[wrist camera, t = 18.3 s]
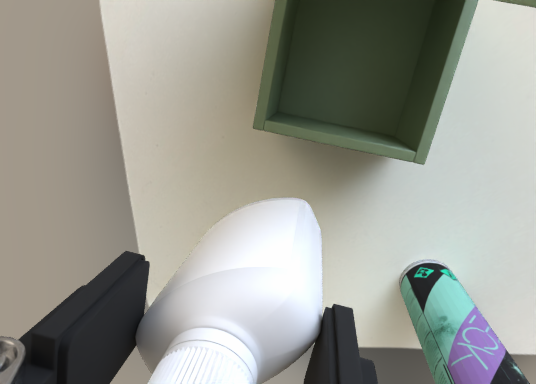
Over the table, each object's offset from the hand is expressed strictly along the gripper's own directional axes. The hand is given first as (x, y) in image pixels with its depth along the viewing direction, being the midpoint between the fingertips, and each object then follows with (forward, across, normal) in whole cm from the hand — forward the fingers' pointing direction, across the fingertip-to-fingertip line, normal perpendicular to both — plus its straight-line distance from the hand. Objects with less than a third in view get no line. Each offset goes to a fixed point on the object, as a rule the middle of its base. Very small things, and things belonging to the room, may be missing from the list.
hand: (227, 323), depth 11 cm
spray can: (+27, -16, +10) cm, 33 cm away
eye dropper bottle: (+7, 0, 0) cm, 7 cm away
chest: (+26, -3, -10) cm, 28 cm away
